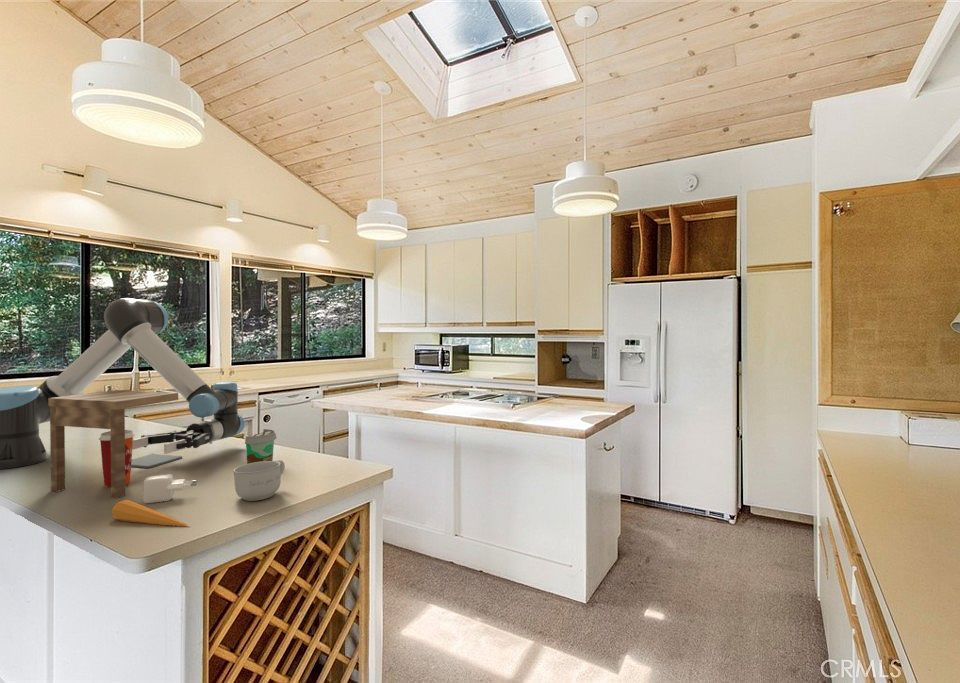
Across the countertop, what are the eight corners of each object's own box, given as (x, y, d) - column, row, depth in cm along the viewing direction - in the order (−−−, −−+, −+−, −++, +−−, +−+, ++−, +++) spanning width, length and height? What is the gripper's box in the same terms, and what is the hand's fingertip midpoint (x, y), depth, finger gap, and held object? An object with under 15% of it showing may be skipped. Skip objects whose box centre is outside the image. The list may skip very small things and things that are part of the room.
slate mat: (117, 465, 147) (117, 463, 147) (152, 455, 159) (152, 453, 159) (148, 468, 145) (148, 466, 145) (182, 458, 156) (182, 456, 156)
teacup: (250, 508, 113) (250, 474, 113) (224, 499, 119) (224, 467, 118) (300, 491, 125) (300, 460, 125) (274, 484, 130) (274, 455, 130)
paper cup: (137, 483, 130) (137, 432, 130) (102, 490, 124) (101, 436, 124) (131, 477, 135) (130, 428, 135) (96, 483, 130) (96, 432, 129)
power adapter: (198, 493, 123) (198, 470, 123) (196, 499, 119) (196, 475, 119) (146, 499, 118) (146, 475, 118) (142, 505, 114) (141, 481, 114)
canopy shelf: (49, 491, 124) (48, 398, 123) (117, 471, 141) (116, 390, 141) (117, 498, 119) (116, 401, 118) (178, 477, 136) (178, 392, 136)
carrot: (111, 523, 105) (104, 508, 103) (129, 509, 109) (123, 494, 107) (185, 543, 101) (180, 527, 99) (202, 527, 104) (197, 511, 103)
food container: (265, 470, 143) (265, 437, 143) (244, 470, 143) (244, 437, 143) (283, 459, 155) (283, 429, 155) (264, 459, 155) (264, 428, 155)
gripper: (236, 446, 156) (182, 463, 135) (172, 441, 161) (111, 457, 141) (236, 423, 156) (181, 436, 135) (172, 419, 161) (110, 432, 141)
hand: (145, 447), depth 138 cm, fingers open, 13 cm apart
